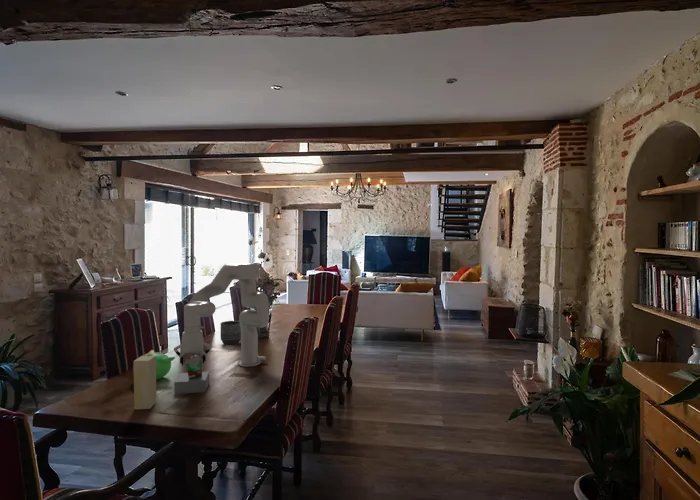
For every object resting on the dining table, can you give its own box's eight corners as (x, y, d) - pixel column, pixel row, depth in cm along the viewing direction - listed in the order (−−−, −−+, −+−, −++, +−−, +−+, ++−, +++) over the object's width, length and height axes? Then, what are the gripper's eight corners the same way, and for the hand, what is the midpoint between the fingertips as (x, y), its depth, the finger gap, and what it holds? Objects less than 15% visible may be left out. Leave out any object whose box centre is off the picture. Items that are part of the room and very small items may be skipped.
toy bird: (164, 372, 235) (164, 345, 234) (177, 379, 223) (176, 351, 222) (128, 380, 222) (128, 351, 222) (140, 388, 210) (140, 358, 210)
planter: (232, 340, 309) (232, 319, 309) (246, 343, 301) (245, 322, 300) (216, 344, 298) (216, 323, 297) (229, 347, 289) (229, 325, 289)
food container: (201, 378, 205) (198, 358, 205) (188, 380, 205) (185, 359, 204) (207, 370, 217) (204, 351, 217) (194, 372, 217) (192, 353, 217)
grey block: (209, 383, 219) (209, 371, 219) (205, 392, 205) (205, 380, 205) (180, 385, 216) (180, 373, 216) (174, 394, 202) (174, 382, 202)
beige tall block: (139, 402, 191) (139, 355, 191) (156, 402, 192) (156, 355, 191) (132, 409, 183) (131, 361, 183) (149, 409, 184) (149, 360, 183)
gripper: (211, 326, 216) (211, 359, 217) (174, 328, 211) (174, 363, 212) (211, 329, 209) (211, 364, 210) (172, 332, 204) (173, 367, 204)
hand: (193, 363), depth 211 cm, fingers open, 9 cm apart
